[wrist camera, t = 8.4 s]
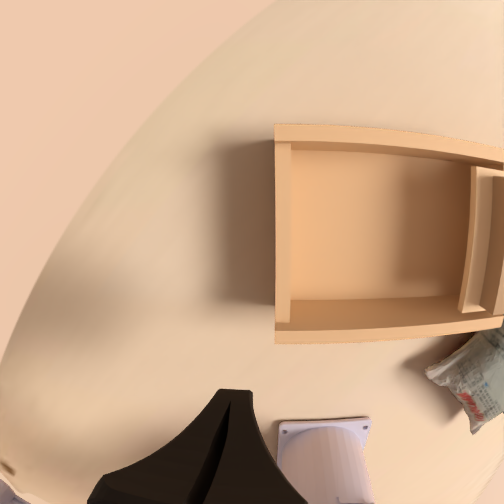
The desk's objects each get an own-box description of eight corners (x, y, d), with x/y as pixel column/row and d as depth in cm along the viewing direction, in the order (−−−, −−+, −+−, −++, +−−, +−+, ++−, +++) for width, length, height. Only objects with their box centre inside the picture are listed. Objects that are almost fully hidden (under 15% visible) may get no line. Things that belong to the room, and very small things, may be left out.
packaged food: (461, 418, 23) (481, 448, 18) (415, 359, 21) (439, 394, 17) (521, 360, 21) (546, 383, 16) (488, 285, 20) (524, 305, 15)
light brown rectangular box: (465, 299, 20) (501, 327, 15) (275, 306, 21) (274, 344, 16) (476, 155, 17) (520, 153, 12) (274, 138, 19) (273, 124, 14)
